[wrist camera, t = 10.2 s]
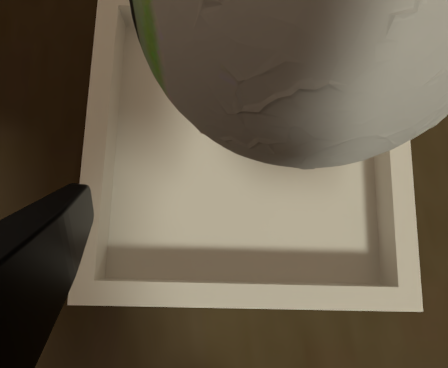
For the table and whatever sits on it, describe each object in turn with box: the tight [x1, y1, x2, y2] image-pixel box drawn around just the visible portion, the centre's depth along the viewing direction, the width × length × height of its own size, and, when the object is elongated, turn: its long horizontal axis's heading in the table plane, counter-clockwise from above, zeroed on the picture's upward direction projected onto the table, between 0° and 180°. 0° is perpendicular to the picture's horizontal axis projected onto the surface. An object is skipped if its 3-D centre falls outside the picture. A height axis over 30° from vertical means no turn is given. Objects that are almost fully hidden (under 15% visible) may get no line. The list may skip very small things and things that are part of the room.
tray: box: [67, 0, 423, 312], centre depth 18 cm, size 15×15×2 cm
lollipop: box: [129, 0, 448, 170], centre depth 11 cm, size 7×7×15 cm
